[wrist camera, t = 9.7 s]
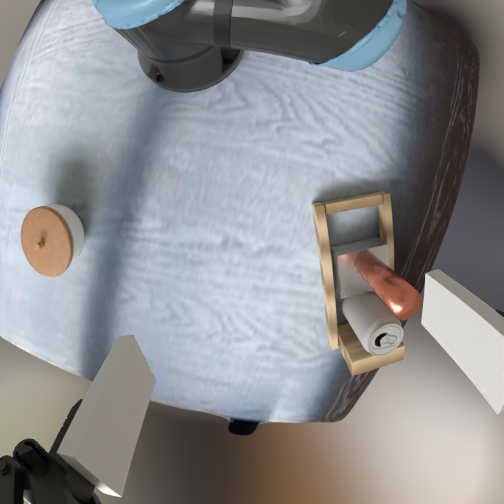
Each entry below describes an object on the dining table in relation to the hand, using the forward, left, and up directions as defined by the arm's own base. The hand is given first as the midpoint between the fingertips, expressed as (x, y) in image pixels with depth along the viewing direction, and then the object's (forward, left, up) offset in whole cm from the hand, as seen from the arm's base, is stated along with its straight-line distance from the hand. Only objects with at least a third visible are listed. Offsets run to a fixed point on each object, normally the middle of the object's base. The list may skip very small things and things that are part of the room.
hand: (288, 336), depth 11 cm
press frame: (+14, +14, -31) cm, 36 cm away
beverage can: (+19, +14, -31) cm, 39 cm away
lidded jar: (-4, -31, -31) cm, 44 cm away
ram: (+12, +14, -30) cm, 36 cm away
